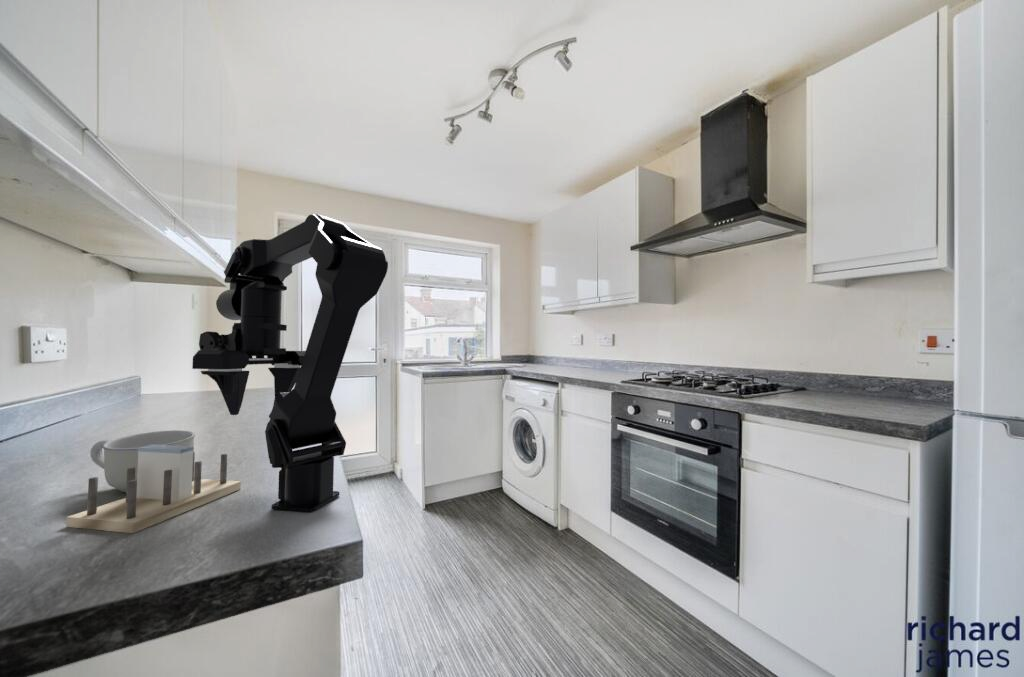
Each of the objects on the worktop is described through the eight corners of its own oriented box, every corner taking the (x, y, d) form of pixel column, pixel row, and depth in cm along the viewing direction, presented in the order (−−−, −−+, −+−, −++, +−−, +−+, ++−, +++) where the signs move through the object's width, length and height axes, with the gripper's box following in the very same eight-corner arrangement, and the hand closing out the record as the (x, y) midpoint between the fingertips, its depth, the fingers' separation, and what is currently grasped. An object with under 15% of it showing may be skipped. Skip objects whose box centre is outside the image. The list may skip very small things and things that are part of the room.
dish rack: (240, 489, 60) (241, 452, 61) (133, 533, 46) (135, 485, 46) (187, 485, 62) (188, 450, 62) (66, 526, 47) (68, 480, 47)
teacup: (210, 477, 66) (211, 430, 67) (143, 501, 55) (146, 445, 56) (138, 474, 68) (140, 428, 68) (60, 496, 57) (63, 443, 57)
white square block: (191, 496, 54) (193, 446, 54) (178, 501, 52) (180, 449, 53) (150, 492, 55) (152, 444, 56) (135, 497, 53) (138, 447, 54)
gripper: (263, 322, 75) (260, 402, 74) (162, 312, 56) (158, 418, 56) (314, 322, 73) (312, 403, 72) (227, 312, 55) (223, 420, 54)
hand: (258, 410), depth 64 cm, fingers open, 9 cm apart
